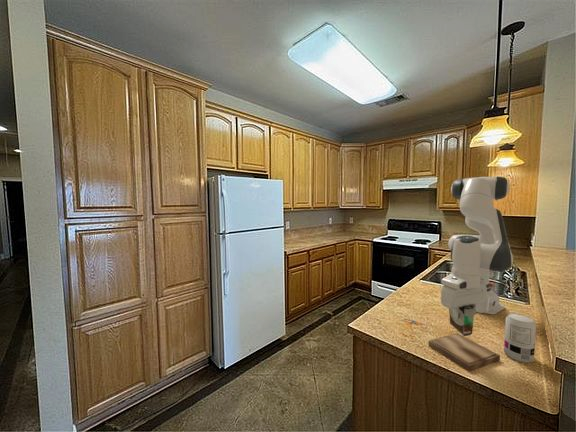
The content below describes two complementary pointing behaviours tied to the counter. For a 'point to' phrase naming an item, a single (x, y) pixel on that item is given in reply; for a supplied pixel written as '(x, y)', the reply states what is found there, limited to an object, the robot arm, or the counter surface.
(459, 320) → the food container
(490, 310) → the robot arm
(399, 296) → the counter surface
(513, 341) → the supplement can
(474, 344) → the base
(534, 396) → the counter surface
